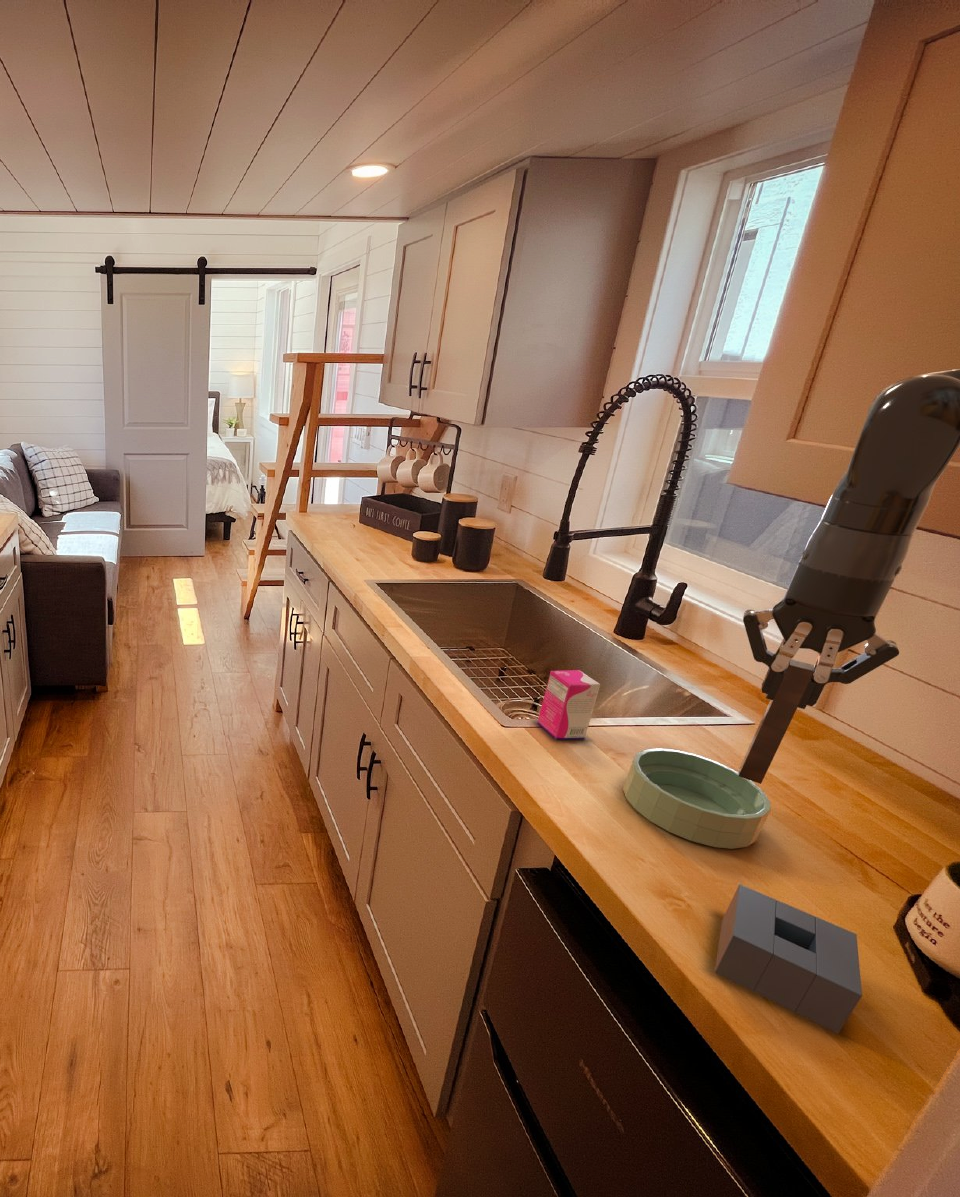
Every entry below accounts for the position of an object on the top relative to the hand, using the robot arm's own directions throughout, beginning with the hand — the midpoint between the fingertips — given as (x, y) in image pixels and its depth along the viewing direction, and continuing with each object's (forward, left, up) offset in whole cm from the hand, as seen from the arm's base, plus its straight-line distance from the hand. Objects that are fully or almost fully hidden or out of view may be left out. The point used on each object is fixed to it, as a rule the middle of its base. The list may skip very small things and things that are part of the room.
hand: (784, 700), depth 77 cm
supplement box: (+24, -25, -28) cm, 44 cm away
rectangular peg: (0, 0, -11) cm, 11 cm away
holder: (-7, +13, -27) cm, 31 cm away
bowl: (+4, -14, -27) cm, 31 cm away
